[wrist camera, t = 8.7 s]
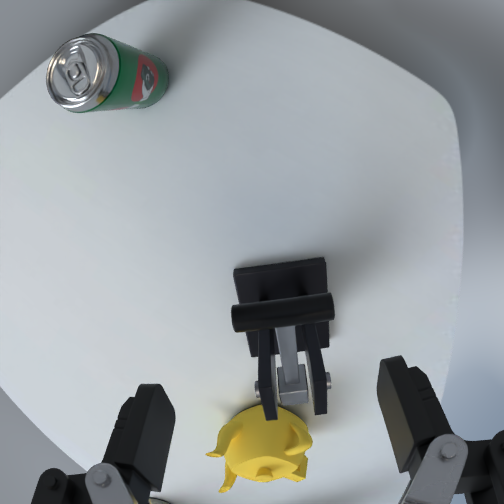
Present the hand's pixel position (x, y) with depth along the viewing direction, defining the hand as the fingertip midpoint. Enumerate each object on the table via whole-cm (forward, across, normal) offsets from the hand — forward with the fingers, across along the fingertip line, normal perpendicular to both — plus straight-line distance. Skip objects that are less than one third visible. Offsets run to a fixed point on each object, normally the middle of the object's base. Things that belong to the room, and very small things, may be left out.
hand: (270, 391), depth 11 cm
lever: (+9, -1, +6) cm, 11 cm away
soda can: (+21, +8, -14) cm, 27 cm away
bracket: (+21, -1, +11) cm, 24 cm away
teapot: (+21, +6, +32) cm, 39 cm away
